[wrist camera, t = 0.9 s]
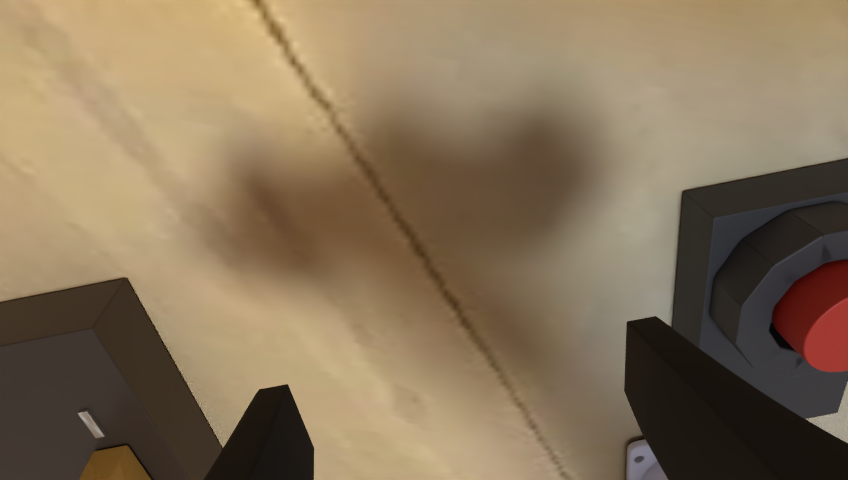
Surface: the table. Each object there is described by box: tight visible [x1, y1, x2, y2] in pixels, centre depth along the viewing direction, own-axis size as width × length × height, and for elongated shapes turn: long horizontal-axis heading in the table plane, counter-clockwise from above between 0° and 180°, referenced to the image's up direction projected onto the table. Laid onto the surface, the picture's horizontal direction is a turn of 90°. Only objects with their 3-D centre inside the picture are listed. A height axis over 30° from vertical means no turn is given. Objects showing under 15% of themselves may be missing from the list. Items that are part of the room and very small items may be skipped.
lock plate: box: [0, 279, 222, 480], centre depth 23 cm, size 13×9×3 cm
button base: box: [672, 159, 848, 419], centre depth 22 cm, size 12×7×4 cm, turn 10°
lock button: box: [772, 260, 848, 372], centre depth 19 cm, size 4×4×2 cm
